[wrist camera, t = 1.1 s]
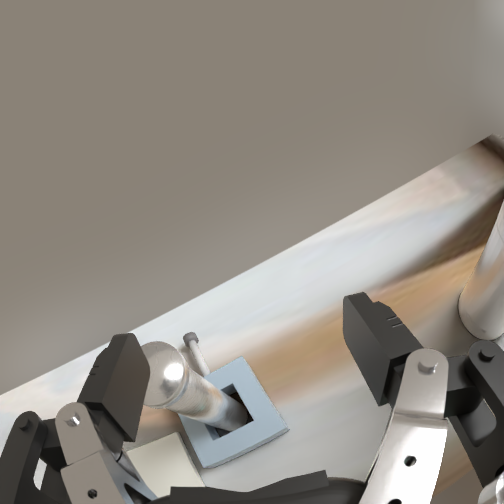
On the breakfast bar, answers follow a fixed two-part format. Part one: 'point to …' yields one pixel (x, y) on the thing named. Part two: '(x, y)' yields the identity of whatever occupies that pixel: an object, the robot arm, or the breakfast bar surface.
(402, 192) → the breakfast bar surface
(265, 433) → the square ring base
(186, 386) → the steel pin
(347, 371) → the breakfast bar surface
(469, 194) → the breakfast bar surface
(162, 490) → the felt pad
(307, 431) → the breakfast bar surface
